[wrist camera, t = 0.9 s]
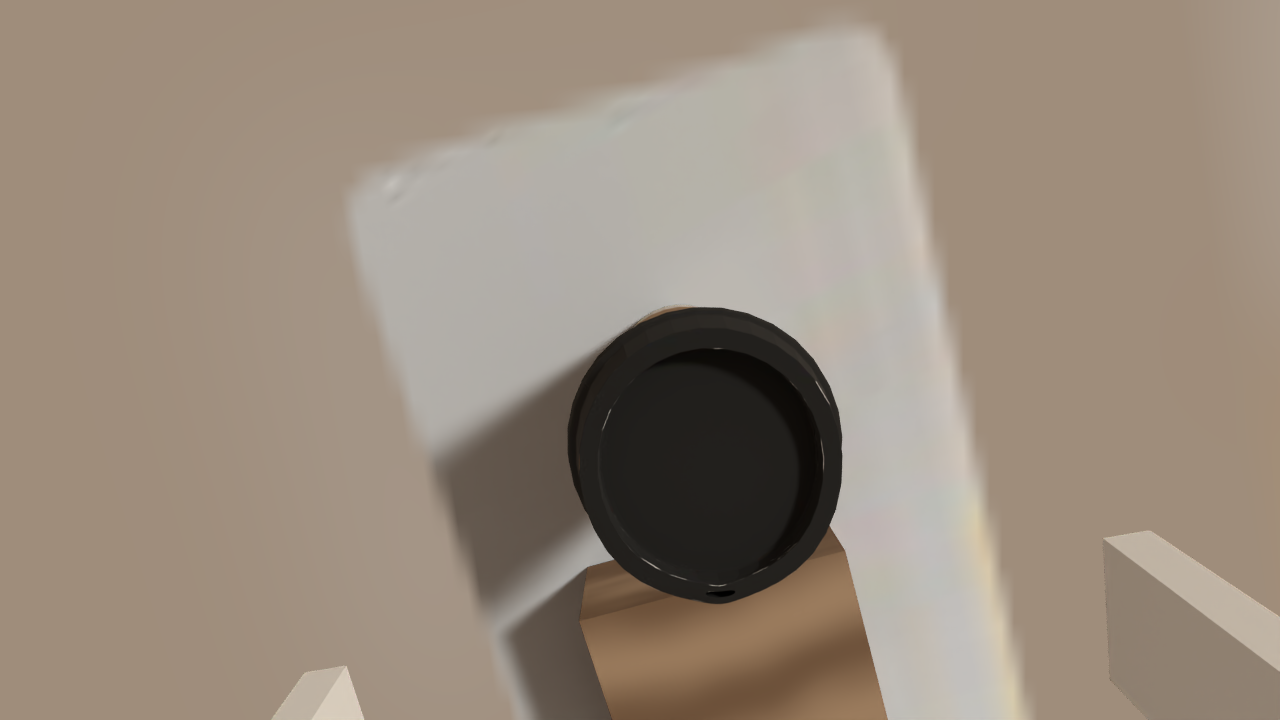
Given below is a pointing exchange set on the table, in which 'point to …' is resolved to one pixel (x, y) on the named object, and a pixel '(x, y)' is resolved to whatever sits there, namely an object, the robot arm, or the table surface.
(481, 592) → the table surface
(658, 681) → the walnut block
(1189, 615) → the robot arm
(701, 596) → the coffee cup
